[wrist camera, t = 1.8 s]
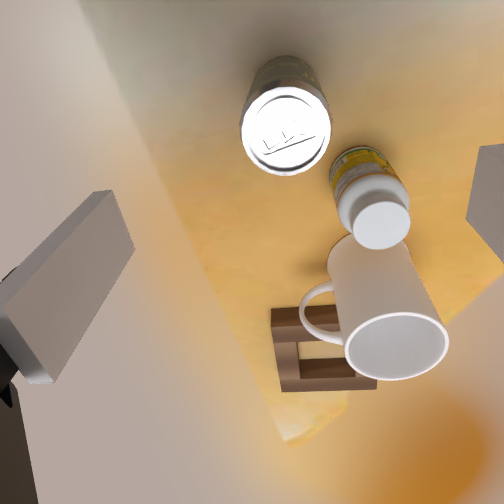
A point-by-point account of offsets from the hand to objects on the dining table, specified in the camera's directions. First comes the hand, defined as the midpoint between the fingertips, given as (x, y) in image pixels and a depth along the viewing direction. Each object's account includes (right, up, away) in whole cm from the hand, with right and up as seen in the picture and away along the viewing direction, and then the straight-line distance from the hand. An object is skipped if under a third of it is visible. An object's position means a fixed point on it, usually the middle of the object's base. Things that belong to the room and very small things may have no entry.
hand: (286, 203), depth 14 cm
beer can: (+1, +12, +17) cm, 21 cm away
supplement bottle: (+9, +5, +20) cm, 23 cm away
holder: (+8, -13, +33) cm, 36 cm away
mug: (+9, -3, +26) cm, 28 cm away
